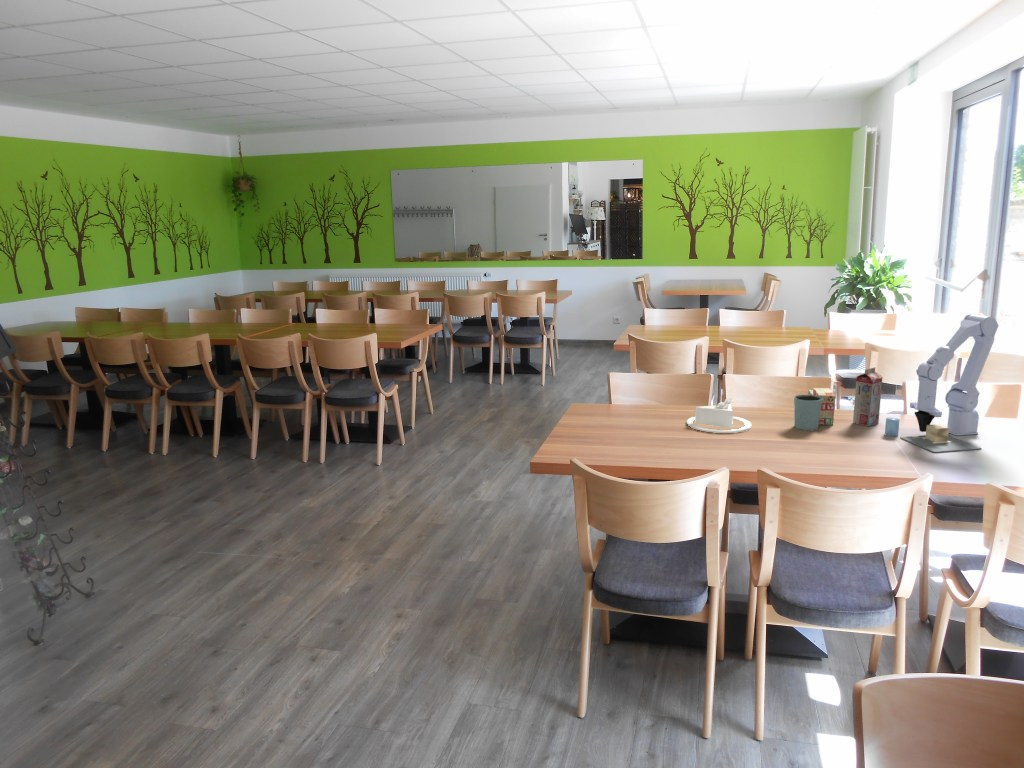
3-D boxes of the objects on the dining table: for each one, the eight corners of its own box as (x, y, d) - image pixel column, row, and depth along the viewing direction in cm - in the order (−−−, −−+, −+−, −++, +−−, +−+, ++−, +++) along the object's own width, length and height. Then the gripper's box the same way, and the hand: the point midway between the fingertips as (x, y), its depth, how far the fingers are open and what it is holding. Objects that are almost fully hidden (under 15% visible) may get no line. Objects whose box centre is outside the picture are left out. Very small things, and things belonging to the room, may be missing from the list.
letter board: (944, 435, 280) (944, 433, 280) (981, 449, 263) (981, 448, 263) (900, 438, 278) (900, 437, 278) (934, 453, 260) (934, 451, 260)
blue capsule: (893, 432, 285) (894, 417, 284) (900, 435, 281) (902, 420, 279) (882, 433, 284) (883, 417, 283) (889, 436, 280) (891, 421, 279)
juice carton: (878, 423, 297) (883, 368, 292) (868, 426, 293) (873, 370, 289) (862, 420, 302) (866, 366, 298) (852, 422, 299) (857, 368, 294)
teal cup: (791, 429, 292) (793, 399, 289) (792, 422, 301) (794, 393, 298) (820, 432, 288) (822, 401, 285) (820, 425, 297) (822, 395, 294)
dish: (747, 418, 310) (748, 391, 308) (755, 435, 286) (756, 406, 284) (685, 416, 315) (686, 390, 312) (688, 433, 291) (689, 405, 288)
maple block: (937, 437, 276) (939, 424, 275) (947, 441, 271) (949, 427, 270) (925, 438, 275) (926, 425, 274) (934, 442, 270) (936, 428, 269)
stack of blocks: (807, 411, 318) (808, 382, 315) (822, 411, 317) (824, 382, 314) (816, 425, 298) (818, 394, 295) (833, 425, 296) (835, 395, 294)
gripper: (904, 391, 283) (900, 426, 286) (930, 400, 269) (926, 437, 272) (921, 390, 284) (917, 425, 287) (948, 399, 270) (944, 436, 273)
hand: (923, 431), depth 280 cm, fingers closed
